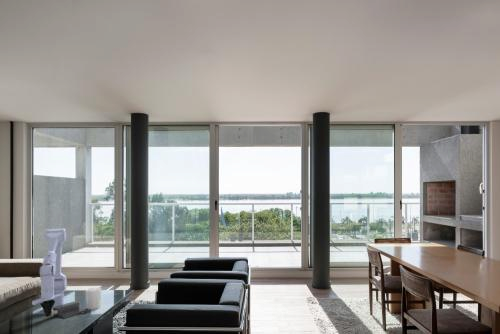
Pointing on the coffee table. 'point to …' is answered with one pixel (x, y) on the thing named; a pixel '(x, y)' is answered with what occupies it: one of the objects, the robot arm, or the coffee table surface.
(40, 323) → the coffee table surface
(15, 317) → the coffee table surface
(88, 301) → the white cup
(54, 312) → the hinge pin
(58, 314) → the hinge leaves
